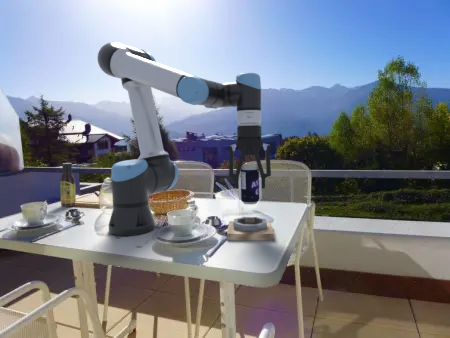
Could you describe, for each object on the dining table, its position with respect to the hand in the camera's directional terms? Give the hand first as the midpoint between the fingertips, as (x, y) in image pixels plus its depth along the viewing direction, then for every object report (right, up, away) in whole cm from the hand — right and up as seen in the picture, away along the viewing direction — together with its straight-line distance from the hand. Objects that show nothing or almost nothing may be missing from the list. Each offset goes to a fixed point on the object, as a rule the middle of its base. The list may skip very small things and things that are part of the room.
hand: (250, 198), depth 103 cm
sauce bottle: (-80, -8, +47) cm, 93 cm away
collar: (0, -9, +1) cm, 9 cm away
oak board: (0, -11, +1) cm, 11 cm away
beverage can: (0, -2, 0) cm, 2 cm away
